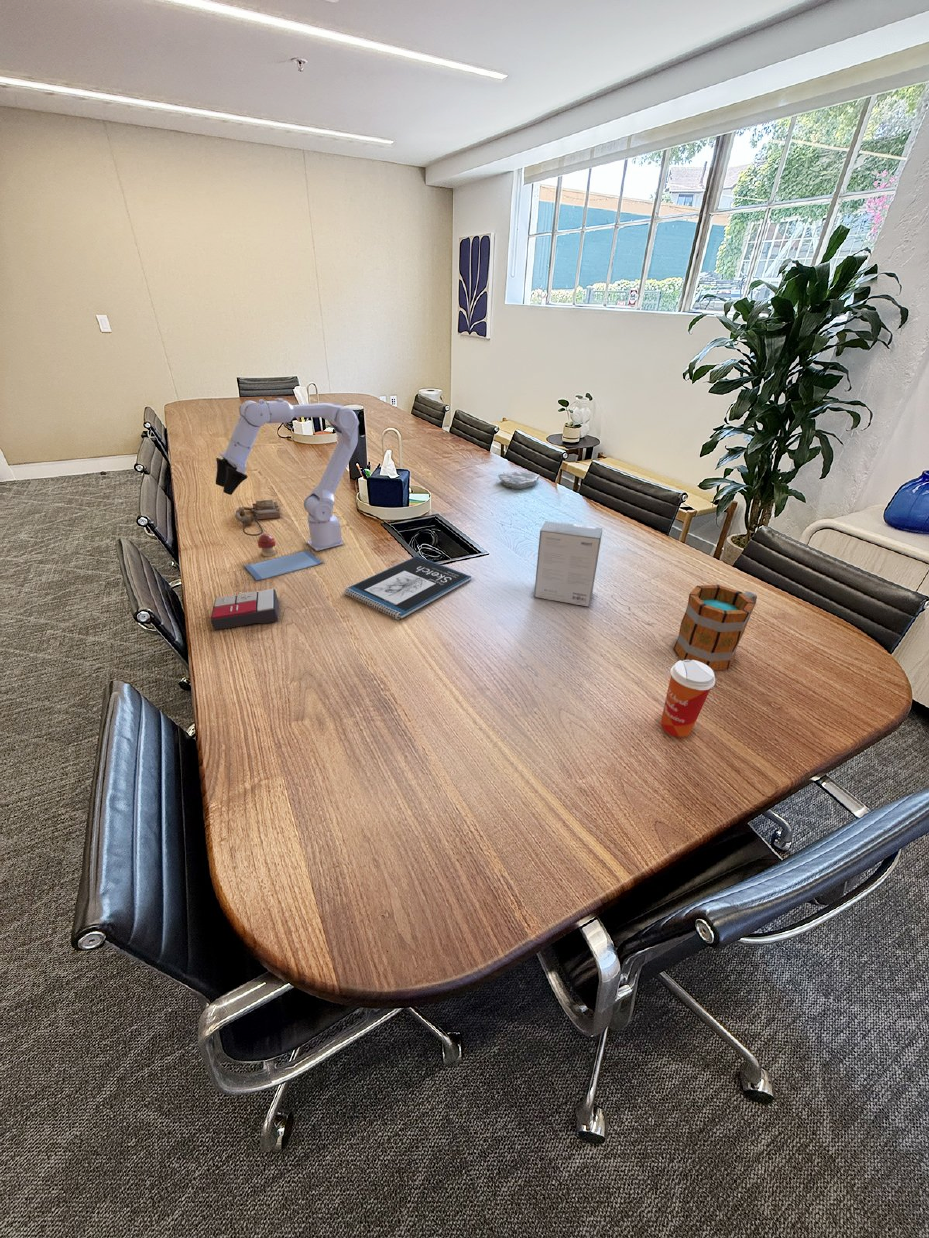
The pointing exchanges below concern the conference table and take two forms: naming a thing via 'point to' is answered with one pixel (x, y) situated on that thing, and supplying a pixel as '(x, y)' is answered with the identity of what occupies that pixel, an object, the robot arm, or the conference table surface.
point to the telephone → (258, 513)
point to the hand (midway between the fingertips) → (223, 489)
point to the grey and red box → (245, 609)
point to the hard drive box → (567, 562)
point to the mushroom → (266, 544)
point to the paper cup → (686, 696)
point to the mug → (714, 625)
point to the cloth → (282, 565)
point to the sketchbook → (407, 586)
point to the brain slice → (518, 479)
